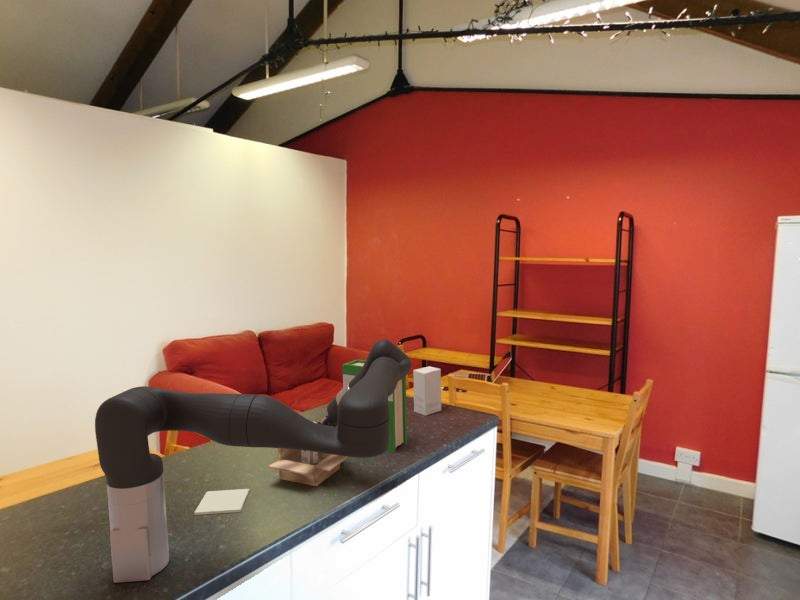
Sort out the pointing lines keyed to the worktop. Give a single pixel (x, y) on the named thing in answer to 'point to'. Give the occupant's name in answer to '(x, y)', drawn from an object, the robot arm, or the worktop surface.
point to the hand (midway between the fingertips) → (312, 442)
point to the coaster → (222, 502)
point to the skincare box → (427, 390)
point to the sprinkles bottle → (309, 457)
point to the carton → (306, 467)
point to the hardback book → (395, 405)
